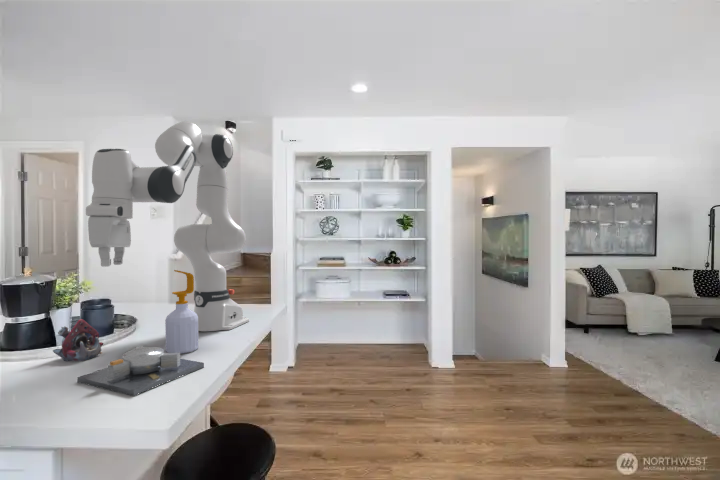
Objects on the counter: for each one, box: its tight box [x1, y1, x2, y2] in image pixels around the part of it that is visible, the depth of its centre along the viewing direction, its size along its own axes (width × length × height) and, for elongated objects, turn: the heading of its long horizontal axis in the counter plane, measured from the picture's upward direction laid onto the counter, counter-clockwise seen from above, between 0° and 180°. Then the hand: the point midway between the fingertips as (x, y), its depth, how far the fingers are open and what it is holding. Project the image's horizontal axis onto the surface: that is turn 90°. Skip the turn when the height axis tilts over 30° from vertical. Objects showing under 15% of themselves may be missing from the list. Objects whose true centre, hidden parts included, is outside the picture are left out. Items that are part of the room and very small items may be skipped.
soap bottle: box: [164, 269, 199, 355], centre depth 119 cm, size 9×9×25 cm
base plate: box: [76, 358, 205, 397], centre depth 99 cm, size 20×20×1 cm
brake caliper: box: [52, 318, 104, 362], centre depth 113 cm, size 11×11×12 cm
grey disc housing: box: [107, 345, 181, 379], centre depth 97 cm, size 14×16×4 cm
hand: (112, 265), depth 99 cm, fingers open, 8 cm apart
